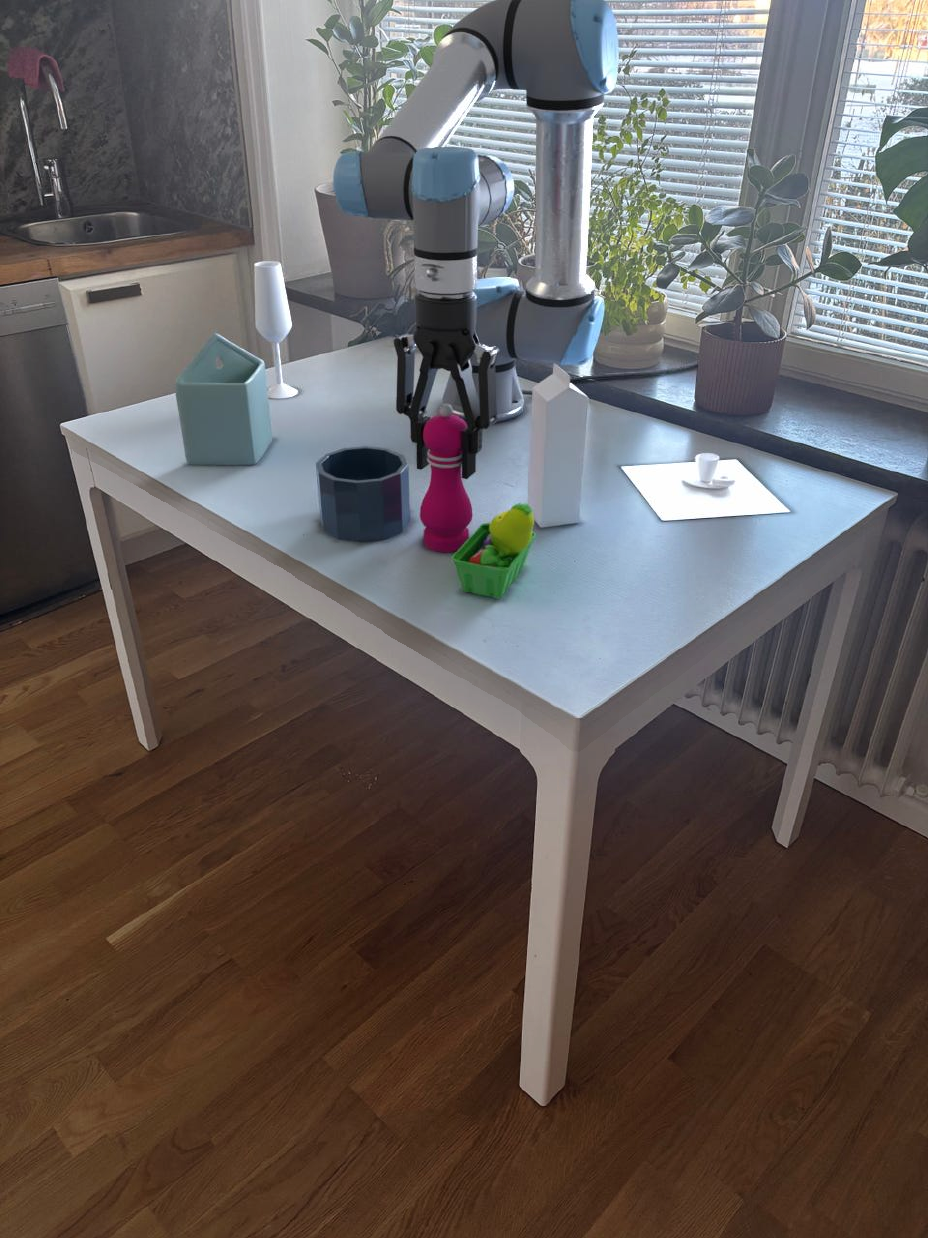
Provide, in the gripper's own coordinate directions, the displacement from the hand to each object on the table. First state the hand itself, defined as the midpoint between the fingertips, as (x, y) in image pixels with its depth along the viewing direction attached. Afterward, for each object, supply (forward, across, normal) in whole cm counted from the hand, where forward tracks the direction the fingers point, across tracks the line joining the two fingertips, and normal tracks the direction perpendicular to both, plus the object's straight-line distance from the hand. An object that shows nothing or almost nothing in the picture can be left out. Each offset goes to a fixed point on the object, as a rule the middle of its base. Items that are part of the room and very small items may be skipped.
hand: (446, 469), depth 125 cm
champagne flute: (+11, -57, +41) cm, 71 cm away
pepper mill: (+11, 0, 0) cm, 11 cm away
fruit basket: (+11, +11, -6) cm, 17 cm away
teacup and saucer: (+11, +28, +34) cm, 45 cm away
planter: (+11, -44, +12) cm, 47 cm away
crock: (+11, -13, 0) cm, 17 cm away
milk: (+11, +10, +14) cm, 21 cm away
